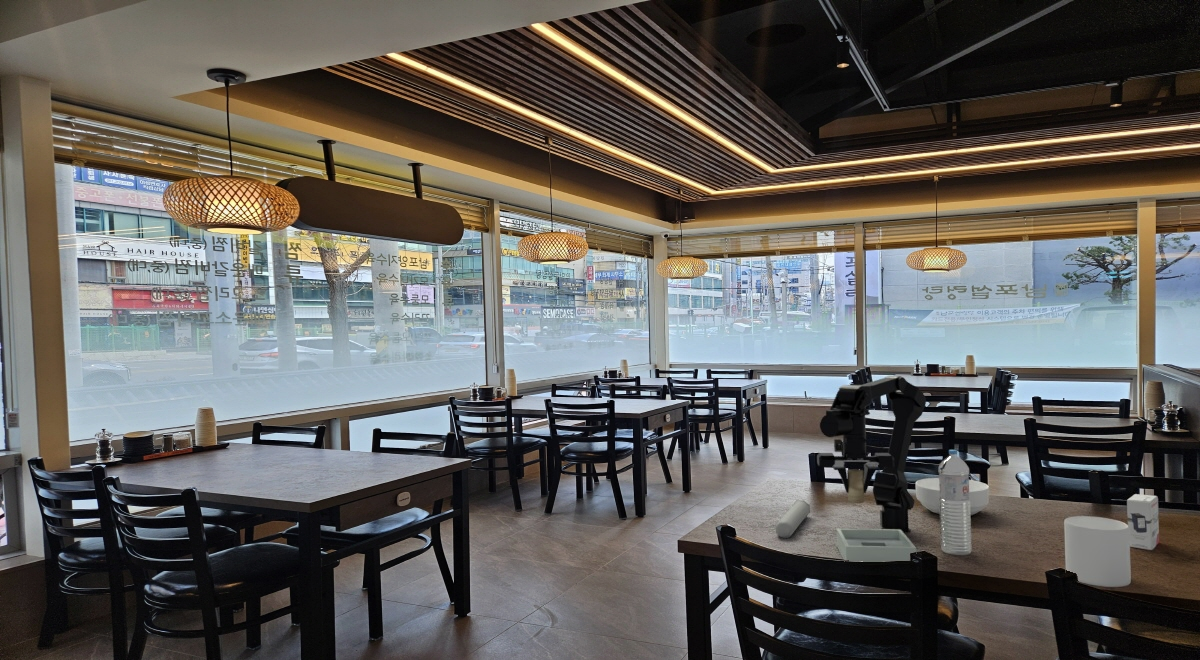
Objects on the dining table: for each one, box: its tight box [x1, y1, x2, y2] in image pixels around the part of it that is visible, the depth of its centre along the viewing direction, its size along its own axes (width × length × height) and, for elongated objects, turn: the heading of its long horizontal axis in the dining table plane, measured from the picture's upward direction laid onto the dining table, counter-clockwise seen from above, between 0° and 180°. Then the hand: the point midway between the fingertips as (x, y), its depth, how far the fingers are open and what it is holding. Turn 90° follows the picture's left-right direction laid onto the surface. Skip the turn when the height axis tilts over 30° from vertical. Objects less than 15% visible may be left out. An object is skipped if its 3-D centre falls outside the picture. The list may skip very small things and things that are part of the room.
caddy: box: [836, 528, 917, 562], centre depth 179 cm, size 16×16×4 cm
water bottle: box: [937, 449, 972, 556], centre depth 181 cm, size 7×7×25 cm
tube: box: [775, 499, 811, 539], centre depth 208 cm, size 5×5×25 cm
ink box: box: [1126, 493, 1160, 551], centre depth 182 cm, size 8×5×12 cm, turn 133°
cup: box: [1063, 515, 1132, 588], centre depth 160 cm, size 12×12×12 cm
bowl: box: [915, 477, 990, 516], centre depth 217 cm, size 20×20×8 cm
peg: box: [846, 468, 865, 504], centre depth 193 cm, size 4×4×8 cm
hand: (855, 492), depth 193 cm, fingers closed on peg, 4 cm apart
